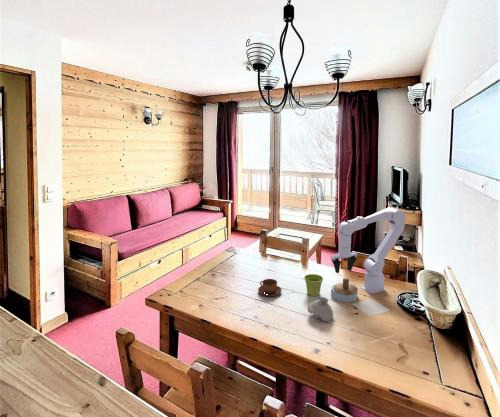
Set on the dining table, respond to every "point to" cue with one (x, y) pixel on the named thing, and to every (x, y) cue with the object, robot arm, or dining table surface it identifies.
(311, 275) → the plant pot
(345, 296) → the bowl
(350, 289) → the lid
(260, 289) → the cup and saucer
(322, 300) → the grey clay mound
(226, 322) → the dining table surface
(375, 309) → the mat
